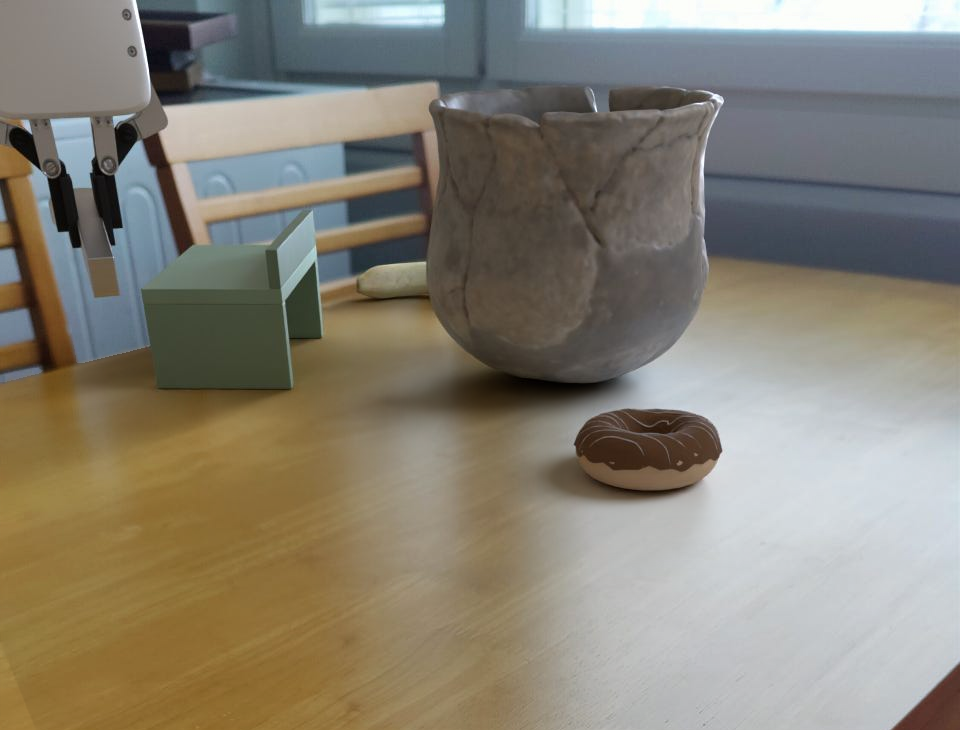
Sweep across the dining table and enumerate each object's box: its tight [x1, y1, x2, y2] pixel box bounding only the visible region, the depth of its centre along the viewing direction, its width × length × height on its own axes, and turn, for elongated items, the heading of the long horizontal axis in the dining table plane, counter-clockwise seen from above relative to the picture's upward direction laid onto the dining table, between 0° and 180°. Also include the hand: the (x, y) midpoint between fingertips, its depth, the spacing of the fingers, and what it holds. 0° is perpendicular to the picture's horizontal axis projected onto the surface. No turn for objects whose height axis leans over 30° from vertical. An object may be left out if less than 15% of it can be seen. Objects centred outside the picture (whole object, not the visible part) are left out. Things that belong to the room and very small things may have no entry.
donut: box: [572, 407, 723, 491], centre depth 88 cm, size 11×11×4 cm
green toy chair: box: [140, 209, 325, 390], centre depth 110 cm, size 12×18×11 cm, turn 177°
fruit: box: [355, 261, 430, 299], centre depth 131 cm, size 7×15×3 cm, turn 77°
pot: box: [425, 85, 725, 384], centre depth 103 cm, size 25×24×21 cm
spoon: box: [47, 187, 121, 299], centre depth 78 cm, size 14×4×2 cm, turn 19°
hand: (92, 241), depth 79 cm, fingers closed on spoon, 1 cm apart
